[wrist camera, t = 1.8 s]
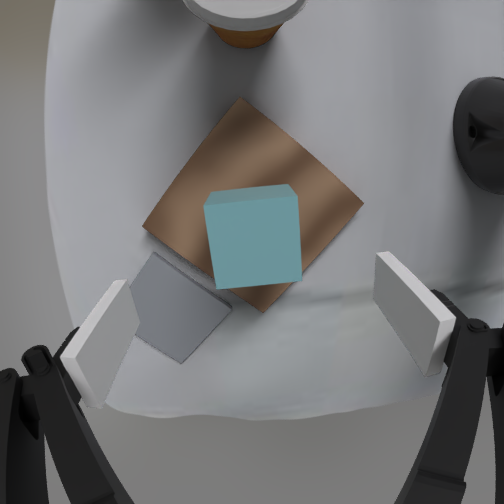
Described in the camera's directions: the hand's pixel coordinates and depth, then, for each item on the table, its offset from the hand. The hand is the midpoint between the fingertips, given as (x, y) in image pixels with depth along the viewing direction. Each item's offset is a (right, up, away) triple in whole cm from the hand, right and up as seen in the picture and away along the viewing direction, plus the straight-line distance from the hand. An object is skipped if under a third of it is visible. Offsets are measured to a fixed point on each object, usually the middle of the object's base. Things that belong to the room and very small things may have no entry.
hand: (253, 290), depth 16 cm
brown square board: (0, +6, +17) cm, 18 cm away
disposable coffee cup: (-1, +25, +10) cm, 27 cm away
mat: (-10, -5, +21) cm, 24 cm away
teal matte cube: (0, +4, +11) cm, 12 cm away
